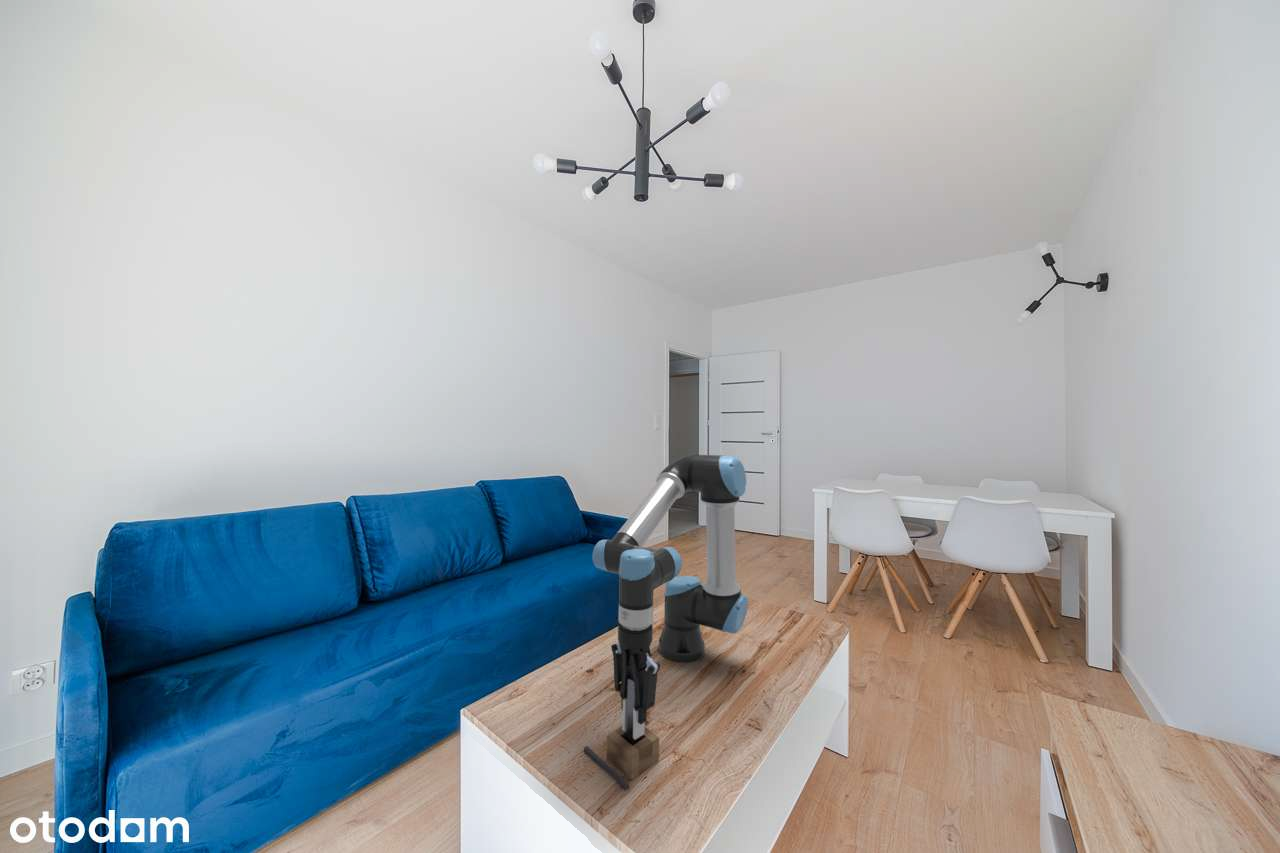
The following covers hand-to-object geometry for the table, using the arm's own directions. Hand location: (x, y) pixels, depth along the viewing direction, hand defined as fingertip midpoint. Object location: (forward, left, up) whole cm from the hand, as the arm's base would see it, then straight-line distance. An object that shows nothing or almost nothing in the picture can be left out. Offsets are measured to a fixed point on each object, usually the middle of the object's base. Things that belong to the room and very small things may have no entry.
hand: (633, 731), depth 94 cm
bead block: (0, 0, -6) cm, 6 cm away
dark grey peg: (0, 0, -3) cm, 3 cm away
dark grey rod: (-2, -6, -6) cm, 9 cm away
